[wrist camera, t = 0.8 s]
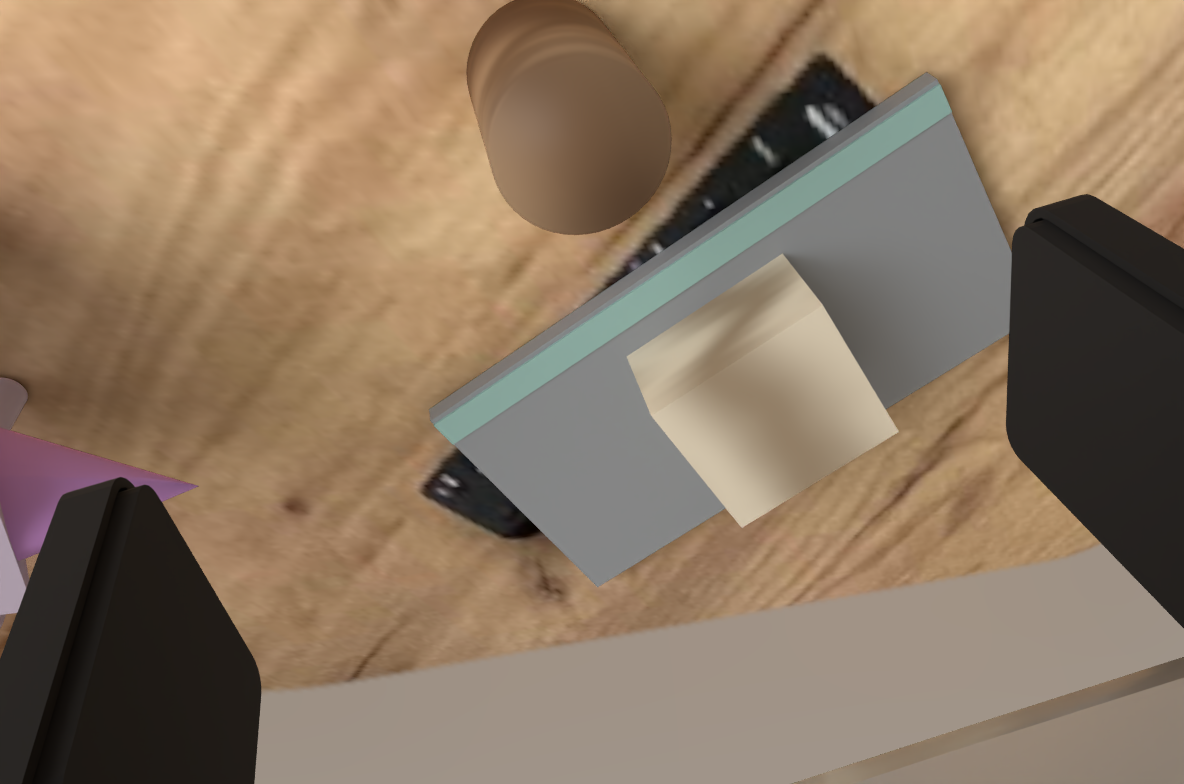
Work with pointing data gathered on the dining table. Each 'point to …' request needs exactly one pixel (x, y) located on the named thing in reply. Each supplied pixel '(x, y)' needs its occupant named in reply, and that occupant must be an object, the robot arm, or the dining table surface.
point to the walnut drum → (566, 117)
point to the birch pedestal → (760, 392)
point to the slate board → (712, 266)
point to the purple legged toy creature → (45, 490)
